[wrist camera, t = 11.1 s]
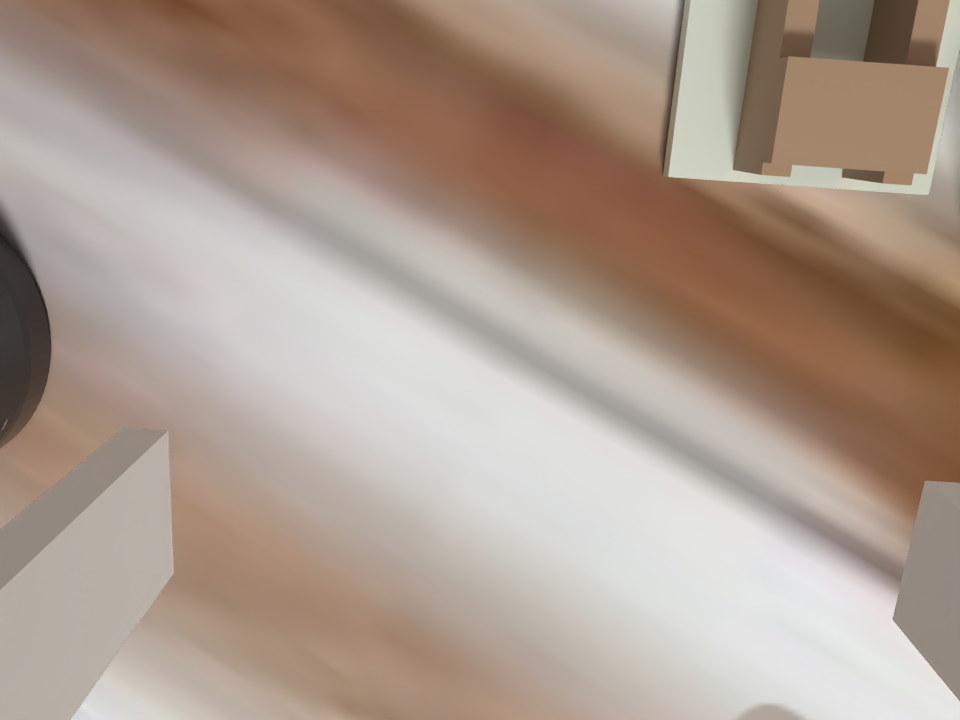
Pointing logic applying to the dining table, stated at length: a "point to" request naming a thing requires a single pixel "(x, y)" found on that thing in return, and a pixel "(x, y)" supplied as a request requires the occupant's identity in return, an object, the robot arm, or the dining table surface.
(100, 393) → the dining table surface
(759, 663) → the dining table surface
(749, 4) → the board
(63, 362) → the dining table surface
